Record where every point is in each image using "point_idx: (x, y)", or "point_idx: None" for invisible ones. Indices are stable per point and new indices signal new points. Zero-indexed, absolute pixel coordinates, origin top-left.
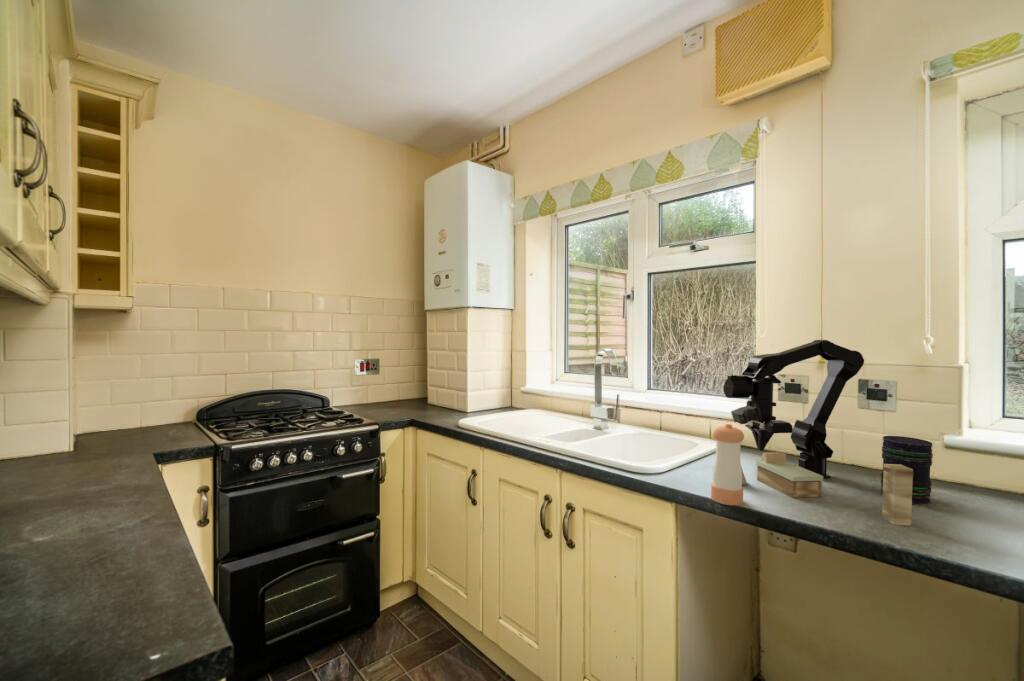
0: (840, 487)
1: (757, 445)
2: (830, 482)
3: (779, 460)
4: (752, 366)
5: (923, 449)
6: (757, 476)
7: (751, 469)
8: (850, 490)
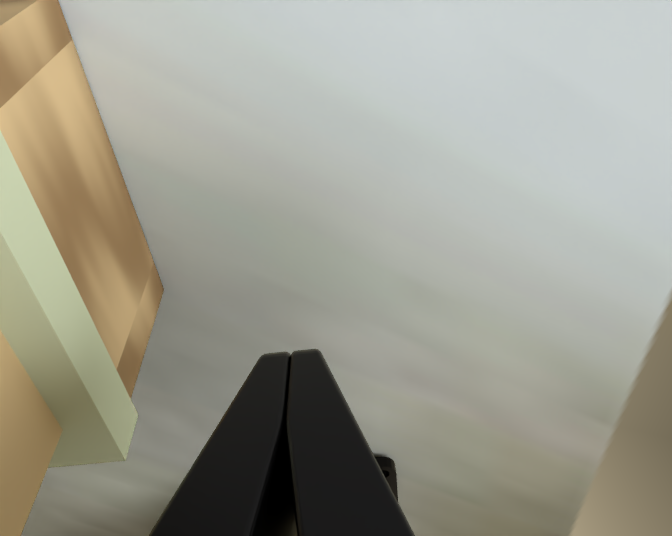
0: (55, 517)
1: (311, 412)
2: (156, 516)
3: None
4: None
5: None
6: (23, 2)
7: (499, 151)
8: None
